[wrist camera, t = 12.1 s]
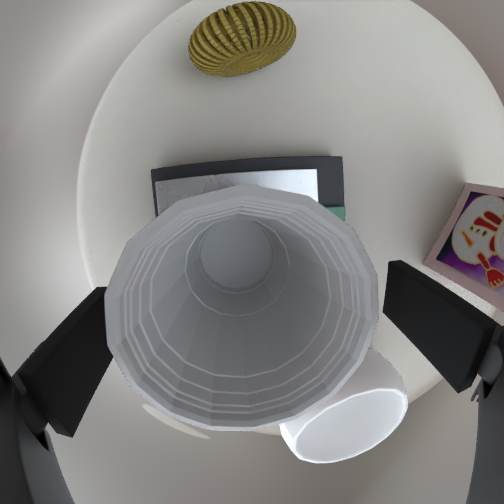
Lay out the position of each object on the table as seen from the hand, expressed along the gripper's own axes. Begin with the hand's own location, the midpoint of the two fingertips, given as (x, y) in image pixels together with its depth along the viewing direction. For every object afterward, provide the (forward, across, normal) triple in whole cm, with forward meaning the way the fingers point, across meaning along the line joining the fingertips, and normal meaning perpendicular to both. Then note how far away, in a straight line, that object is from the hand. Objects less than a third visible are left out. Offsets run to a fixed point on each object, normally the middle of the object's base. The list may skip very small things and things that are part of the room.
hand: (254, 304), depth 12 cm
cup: (+12, +8, -15) cm, 21 cm away
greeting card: (+12, +25, -1) cm, 28 cm away
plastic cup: (+9, 0, 0) cm, 9 cm away
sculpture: (+12, +1, +16) cm, 20 cm away
